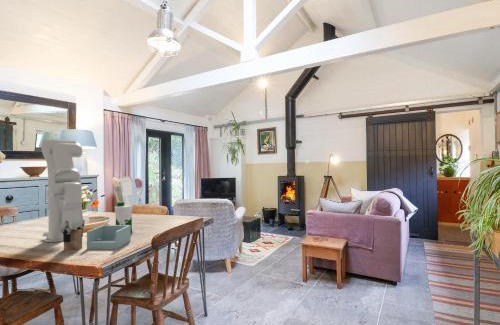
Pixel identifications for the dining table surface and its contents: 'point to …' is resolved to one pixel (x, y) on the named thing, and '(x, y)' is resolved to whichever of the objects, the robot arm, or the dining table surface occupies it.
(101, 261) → the dining table surface
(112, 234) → the teal open bin
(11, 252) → the dining table surface
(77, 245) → the tan upright block
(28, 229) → the dining table surface
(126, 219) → the milk carton
